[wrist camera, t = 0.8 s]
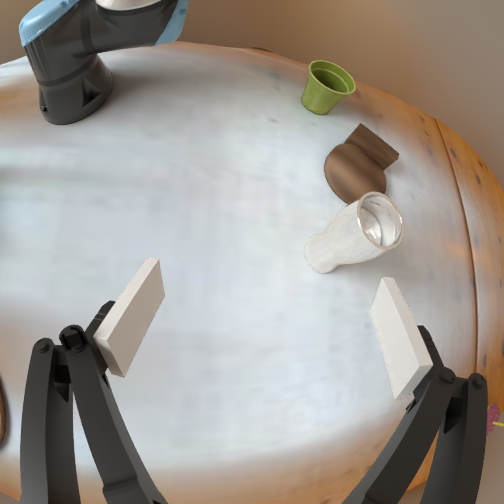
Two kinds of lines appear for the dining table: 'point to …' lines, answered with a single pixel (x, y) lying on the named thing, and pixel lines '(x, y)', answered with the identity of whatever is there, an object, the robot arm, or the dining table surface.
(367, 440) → the dining table surface
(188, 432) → the dining table surface
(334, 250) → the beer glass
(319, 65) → the plant pot
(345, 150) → the walnut base
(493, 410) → the cupcake
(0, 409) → the trivet
